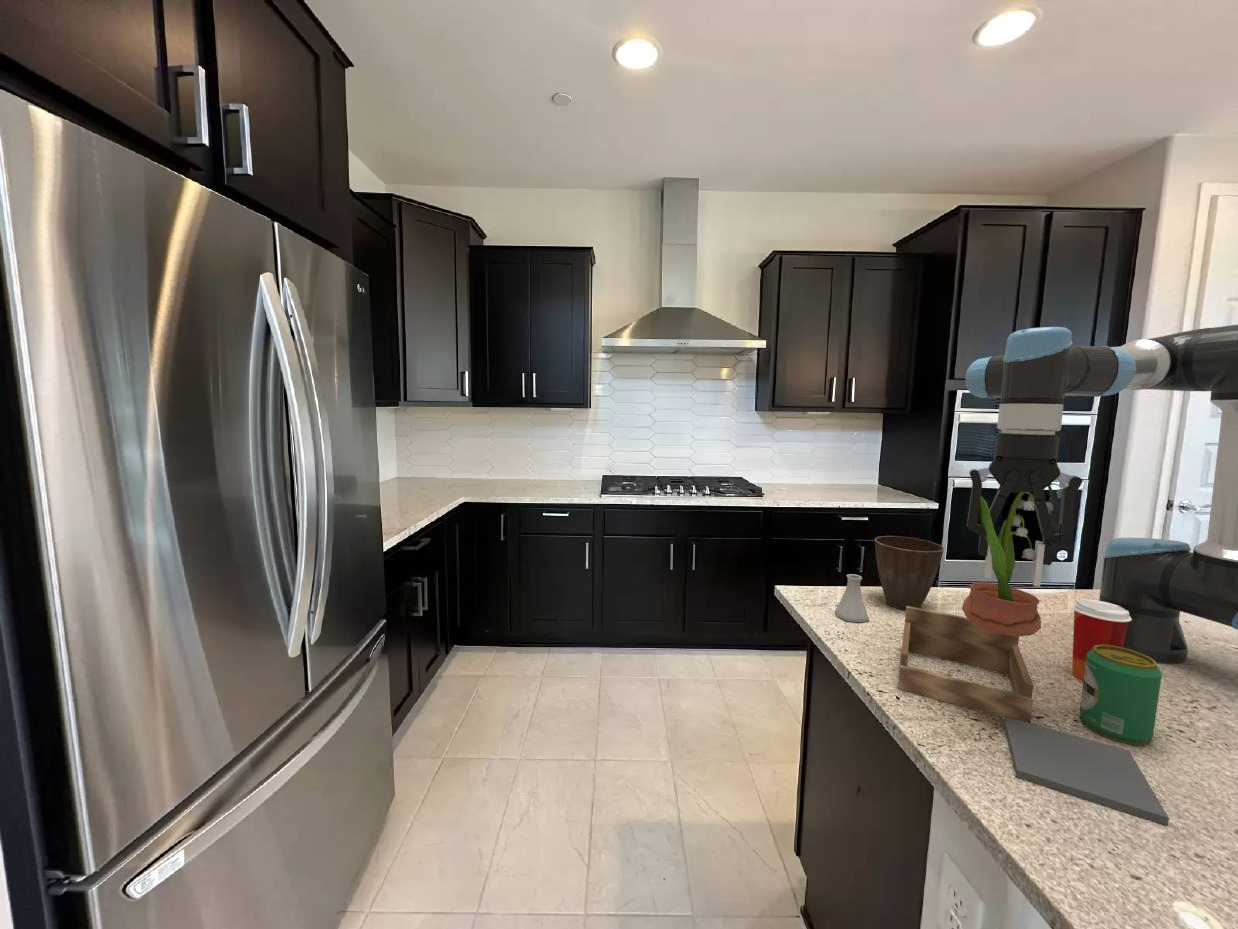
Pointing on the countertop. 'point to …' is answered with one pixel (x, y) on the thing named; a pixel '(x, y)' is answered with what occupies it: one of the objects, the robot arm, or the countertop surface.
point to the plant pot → (906, 569)
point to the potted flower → (1005, 577)
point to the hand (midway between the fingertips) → (1011, 579)
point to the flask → (852, 602)
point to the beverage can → (1120, 694)
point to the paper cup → (1096, 629)
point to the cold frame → (968, 647)
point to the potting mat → (1082, 768)
